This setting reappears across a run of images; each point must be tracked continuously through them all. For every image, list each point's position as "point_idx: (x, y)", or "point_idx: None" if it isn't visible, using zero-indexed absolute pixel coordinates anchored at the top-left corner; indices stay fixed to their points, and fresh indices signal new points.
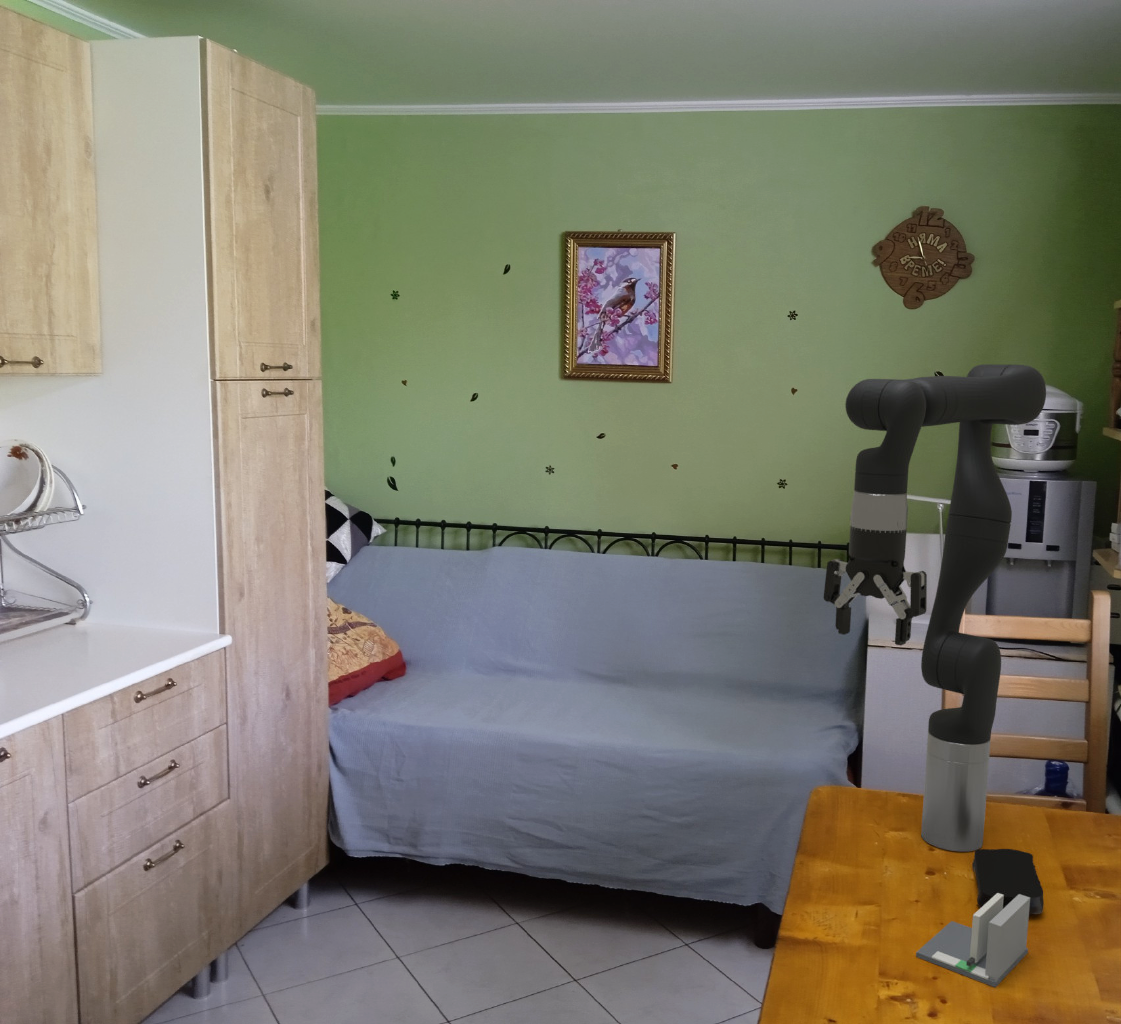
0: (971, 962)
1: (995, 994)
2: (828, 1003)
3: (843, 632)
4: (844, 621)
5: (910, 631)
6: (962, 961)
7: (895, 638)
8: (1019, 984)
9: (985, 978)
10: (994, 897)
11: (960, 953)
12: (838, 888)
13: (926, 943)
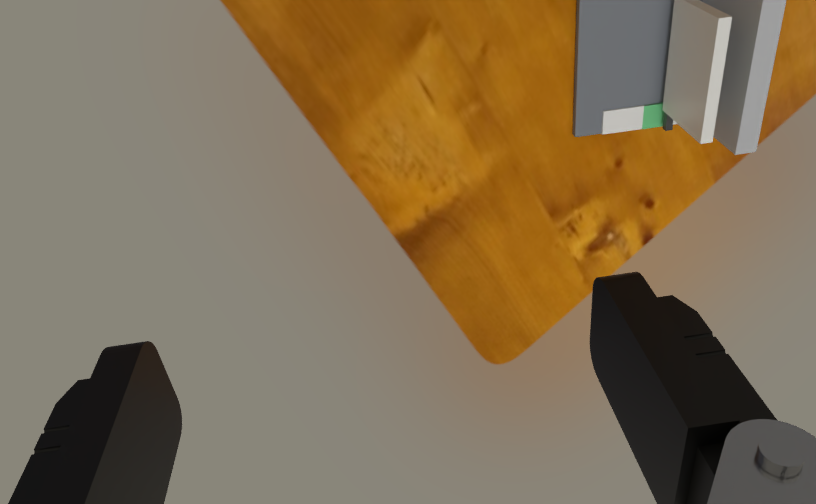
0: (671, 125)
1: None
2: (534, 314)
3: (176, 419)
4: (158, 490)
5: (719, 348)
6: (647, 108)
7: (607, 392)
8: None
9: None
10: (718, 45)
11: (634, 81)
12: (340, 29)
13: (577, 99)
